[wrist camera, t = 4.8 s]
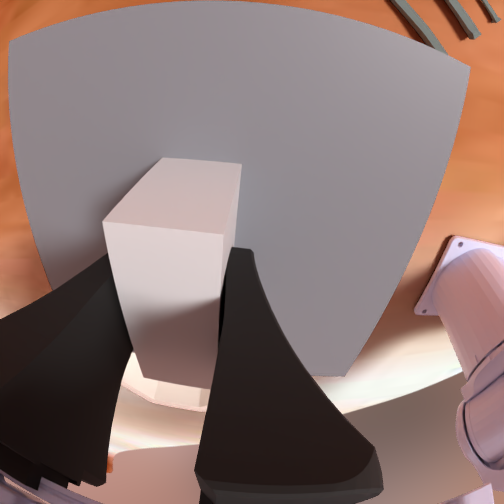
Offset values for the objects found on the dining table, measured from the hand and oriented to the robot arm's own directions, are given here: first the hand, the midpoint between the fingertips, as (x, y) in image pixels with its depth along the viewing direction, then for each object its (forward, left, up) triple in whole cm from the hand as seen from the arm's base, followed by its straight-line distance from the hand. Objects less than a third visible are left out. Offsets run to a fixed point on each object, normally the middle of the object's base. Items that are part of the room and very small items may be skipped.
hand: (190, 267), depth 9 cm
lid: (0, 0, -2) cm, 2 cm away
